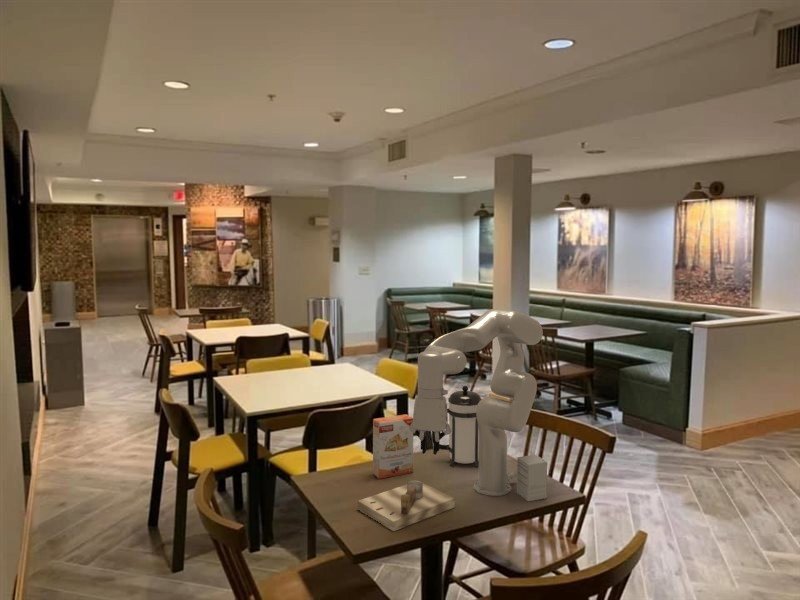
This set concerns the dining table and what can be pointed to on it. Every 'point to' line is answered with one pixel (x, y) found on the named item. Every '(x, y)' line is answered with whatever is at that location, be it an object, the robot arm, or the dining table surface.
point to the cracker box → (392, 446)
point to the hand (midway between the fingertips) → (430, 452)
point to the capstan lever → (411, 495)
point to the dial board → (389, 506)
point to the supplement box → (532, 477)
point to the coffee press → (463, 428)
